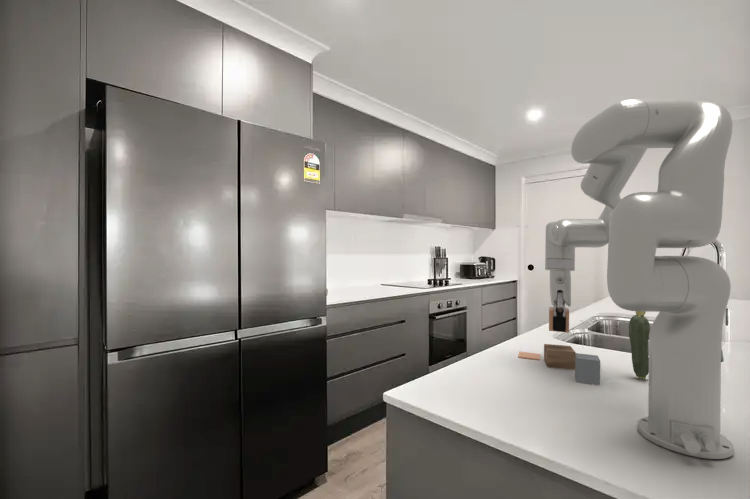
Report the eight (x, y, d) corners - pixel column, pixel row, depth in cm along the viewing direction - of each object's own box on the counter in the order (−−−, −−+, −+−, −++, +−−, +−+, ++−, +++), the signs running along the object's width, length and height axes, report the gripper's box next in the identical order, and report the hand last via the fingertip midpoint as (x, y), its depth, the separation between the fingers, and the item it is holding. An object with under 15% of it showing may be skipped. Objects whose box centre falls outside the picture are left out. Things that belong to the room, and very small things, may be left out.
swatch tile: (539, 360, 108) (539, 359, 108) (518, 357, 111) (518, 356, 111) (540, 355, 114) (540, 353, 114) (519, 352, 116) (519, 351, 116)
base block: (575, 370, 100) (575, 352, 100) (547, 367, 102) (547, 349, 102) (570, 363, 107) (570, 345, 107) (543, 360, 109) (544, 343, 109)
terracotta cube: (569, 332, 101) (569, 311, 101) (548, 330, 104) (549, 309, 103) (568, 329, 106) (568, 308, 106) (548, 327, 108) (549, 306, 108)
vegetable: (649, 383, 90) (649, 302, 90) (627, 379, 93) (628, 300, 93) (649, 378, 94) (650, 300, 94) (628, 374, 96) (629, 298, 96)
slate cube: (600, 385, 89) (600, 360, 89) (576, 382, 91) (576, 358, 91) (597, 379, 93) (597, 355, 93) (575, 376, 95) (575, 353, 95)
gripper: (577, 267, 95) (576, 337, 95) (572, 264, 111) (571, 324, 111) (545, 266, 98) (544, 333, 99) (545, 263, 114) (544, 322, 114)
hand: (558, 328), depth 105 cm, fingers closed on terracotta cube, 5 cm apart
